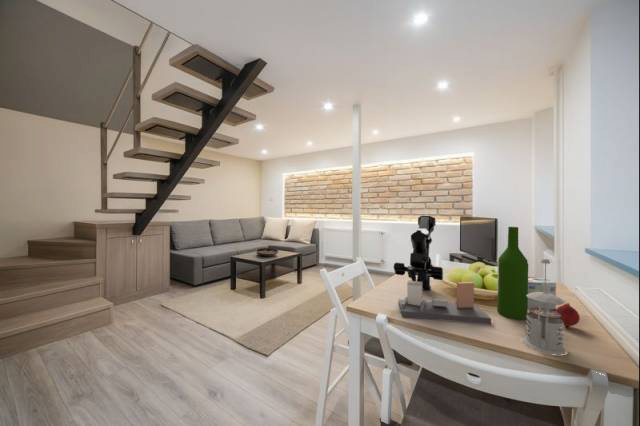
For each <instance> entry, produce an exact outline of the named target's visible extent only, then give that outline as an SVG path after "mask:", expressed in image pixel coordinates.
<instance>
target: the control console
mask: <svg viewBox="0 0 640 426" xmlns="http://www.w3.org/2000/svg"><path fill="white" fill-rule="evenodd" d="M397 301H398V302H397V303H398V308H399V311H400V315H401V317H402V318H403V317H404V318H414V319H415V318H416V319H427V320H428V319H429V320H436V321H437V320H438V321H439V320H440V321H449V322H462V323H463V322H464V323H472V324H473V323H474V324H475V323H476V324H484V325H485V324H486V325H492V317H490V315H489V314H487V312H485V311H484V310H483V309H481V307H480V306H478V305H477V304H474V308H459V309H458V308H457V306H456V305H457V302H456V303H454V302H453V303H452V302H449V306H438V305H433V304H432V301H430V300H429V301H426V300H424V299H422V305H421V306H417V305H411V304H407V297H405V298H403V299H400V298H399V299H398V300H397Z"/></svg>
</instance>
